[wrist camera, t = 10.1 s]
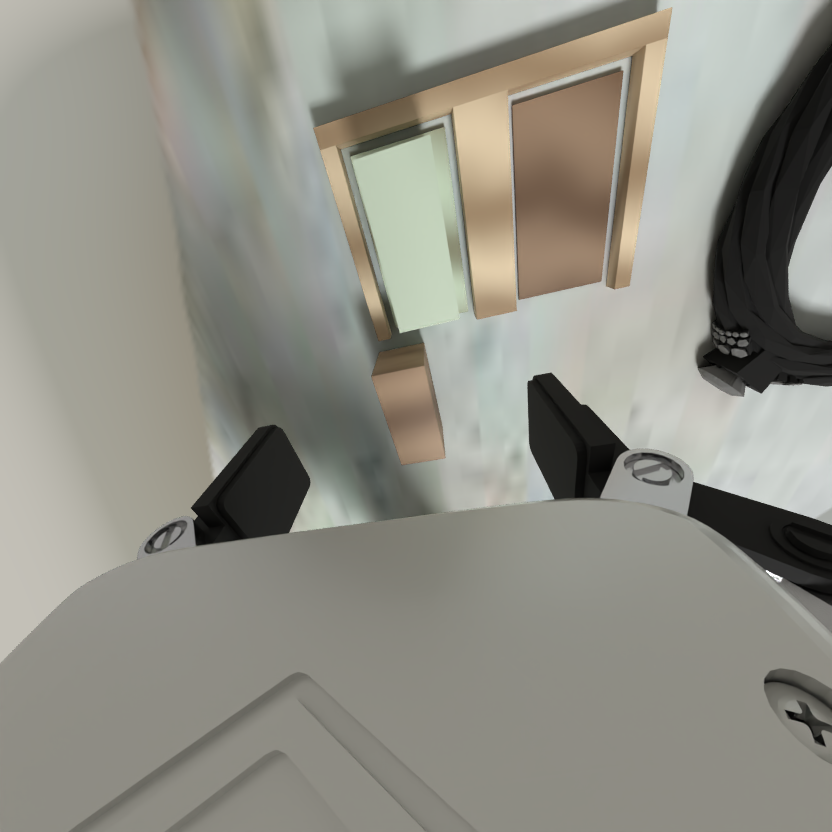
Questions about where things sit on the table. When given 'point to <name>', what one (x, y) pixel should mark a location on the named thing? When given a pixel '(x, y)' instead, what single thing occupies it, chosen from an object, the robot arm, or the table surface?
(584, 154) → the oak rack
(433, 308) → the sage bar
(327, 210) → the table surface
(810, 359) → the cable lock
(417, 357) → the walnut bar
